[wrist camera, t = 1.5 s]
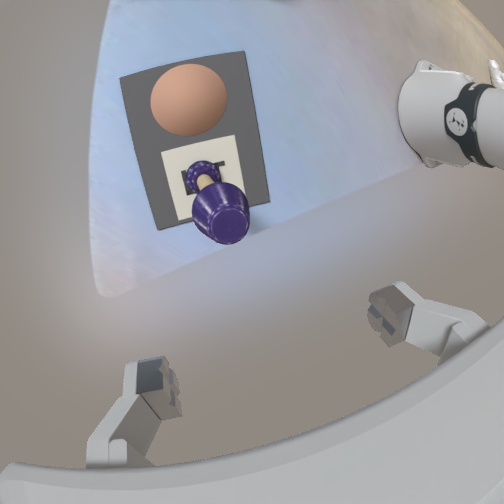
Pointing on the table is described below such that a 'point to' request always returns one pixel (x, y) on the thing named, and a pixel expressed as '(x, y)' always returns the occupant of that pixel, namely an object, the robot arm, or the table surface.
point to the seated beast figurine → (496, 75)
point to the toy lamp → (217, 204)
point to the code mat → (194, 130)
